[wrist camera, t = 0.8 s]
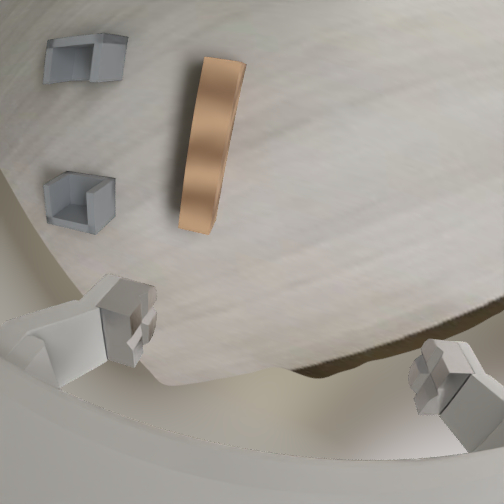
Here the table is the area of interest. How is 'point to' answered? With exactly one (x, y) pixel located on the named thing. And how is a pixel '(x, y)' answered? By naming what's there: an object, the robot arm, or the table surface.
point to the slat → (209, 142)
